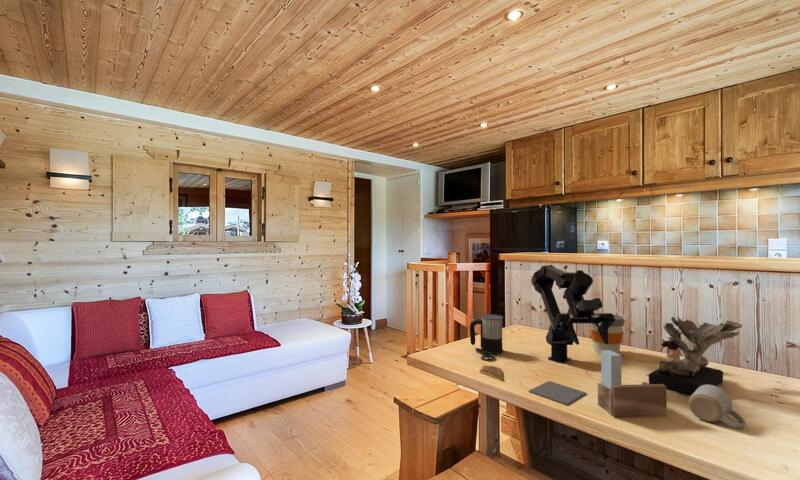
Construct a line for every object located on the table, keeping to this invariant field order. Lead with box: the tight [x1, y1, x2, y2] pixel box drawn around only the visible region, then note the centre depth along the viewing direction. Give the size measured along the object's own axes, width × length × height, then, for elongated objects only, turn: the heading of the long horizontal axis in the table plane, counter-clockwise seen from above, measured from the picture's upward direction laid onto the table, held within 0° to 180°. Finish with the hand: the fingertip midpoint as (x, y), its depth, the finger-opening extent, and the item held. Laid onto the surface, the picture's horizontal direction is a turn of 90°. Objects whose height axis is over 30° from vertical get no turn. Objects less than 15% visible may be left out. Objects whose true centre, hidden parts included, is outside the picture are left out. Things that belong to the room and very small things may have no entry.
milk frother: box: [469, 313, 504, 360], centre depth 149 cm, size 14×16×15 cm
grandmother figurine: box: [659, 333, 684, 361], centre depth 134 cm, size 8×4×13 cm, turn 65°
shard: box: [479, 365, 503, 381], centre depth 127 cm, size 11×8×2 cm
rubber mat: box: [528, 380, 587, 406], centre depth 111 cm, size 12×12×1 cm
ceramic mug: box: [688, 385, 746, 429], centre depth 94 cm, size 11×8×8 cm
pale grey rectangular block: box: [600, 350, 622, 388], centre depth 108 cm, size 5×3×13 cm, turn 2°
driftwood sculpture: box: [648, 316, 743, 398], centre depth 116 cm, size 25×20×22 cm
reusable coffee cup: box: [589, 312, 625, 355], centre depth 150 cm, size 13×13×15 cm
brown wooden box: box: [597, 381, 668, 419], centre depth 100 cm, size 8×14×8 cm, turn 92°
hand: (592, 344), depth 116 cm, fingers open, 9 cm apart
